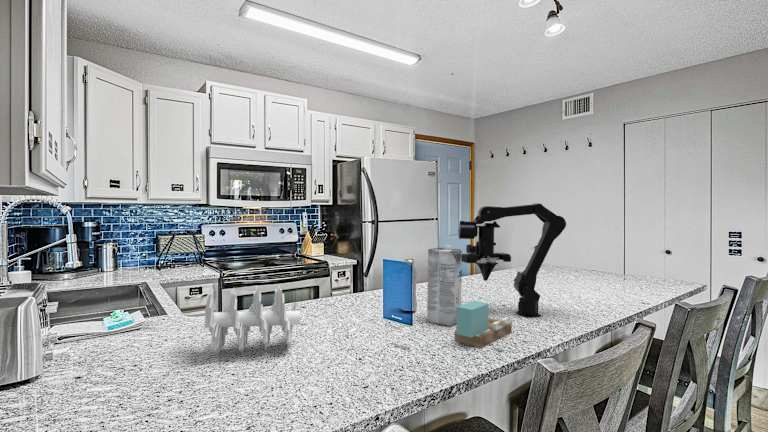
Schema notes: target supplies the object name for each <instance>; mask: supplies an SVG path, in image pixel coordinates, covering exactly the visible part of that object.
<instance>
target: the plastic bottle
mask: <svg viewBox="0 0 768 432" xmlns="http://www.w3.org/2000/svg"><path fill="white" fill-rule="evenodd" d="M405 261H407V262H412V263H413V312H416V310H417V309H418V301H417V281H418V276H419V275H418V270H417V268H416V267H415V259H414V258H404V262H405Z"/></svg>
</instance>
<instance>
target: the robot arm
mask: <svg viewBox="0 0 768 432" xmlns="http://www.w3.org/2000/svg"><path fill="white" fill-rule="evenodd" d="M529 215H535V216H536V217H537V218H538V220H540V221H541V222H542V223H543V225H542V229H541V237H540V238H539V240H538V242H537V245H536V246H535V249H534V251H533V253H532V255H531V256H530V259H529V261H528V263H527V265H526V267H525V269H524V270H523V271H521V272H520V271H517V273H516V276H515V277H514V278H513V281H514V282H513V287H514V290H515V291H517V292H518V294H519V295H518V296H520V297H519V299H518V302H517V303H518V305H517V311H516V312H515V313H516V314H518V315H520V316H523V317H526V318H534V317H541V315H542V314H540V313H539V301H540V298H541V295H540V293H538V292H537V290H535V287H536V284H537V278H538V276H537V275H538V273H539V271H540V269H541V267H542V265H543V263H544V261H545V259H546V256H547V255H548V253H549V251H550V250H551V249H550V248H551V247H552V246H553V242H554V241H555V240H556V239H557V238H558V237H559V236H560V235H561V234H562V232H564V230H565V229H566V227H567V221H566V219H565V217H563V216H561V215H557V214H555V213H554V212H552V211H551V210H549V209H548V208H547V207H545V206H544V205H543V204H542V203H539V202H538V203H532V204H523V205H514V206H512V205H511V206H503V207H502V206H490V205H487V206H486V205H483V206H481V207H479V209H478V211H477V215H476V217H475V218H474V220H473V221H465V220H459V225H458V226H459V227H458V231H457V233H458V239H459V240H475V238H477V237H478V241H476V243H475V245H473V244H466V248H465V250H466V251H465V252H466V253H461V258H462V263H466V264H476V265H477V266H478V268H479V270H480V273H481V276H482V278H483V281H485V282H487V281H488V279H490V278H489V277H490V276H491V273H492V272H493V270H494V268H495V267H496V266H497V265H499V262H497V261H499V260H501V261H503V262H505V263H506V262H507V263H511V262H512V256H511V255H510V253H505V252H495V246H497V242H495V229H496V228H497V229H499V228H500V227H501V225H500V224H498V222H497V221H498V220H500V219H502V218H503V219H504V218H507V217H508V218H509V217H517V216H529ZM494 252H495V253H494Z"/></svg>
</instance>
